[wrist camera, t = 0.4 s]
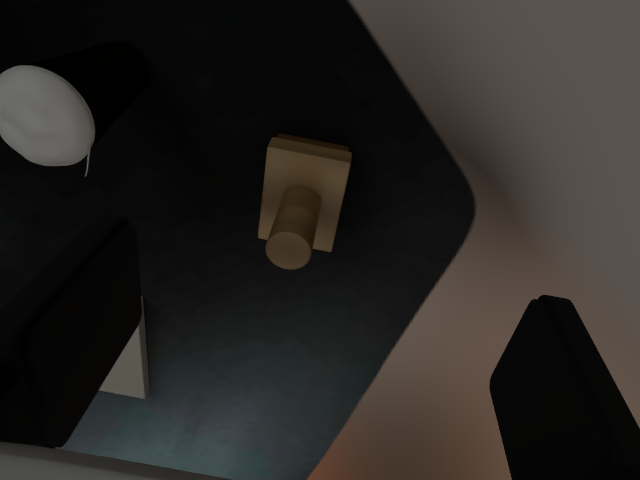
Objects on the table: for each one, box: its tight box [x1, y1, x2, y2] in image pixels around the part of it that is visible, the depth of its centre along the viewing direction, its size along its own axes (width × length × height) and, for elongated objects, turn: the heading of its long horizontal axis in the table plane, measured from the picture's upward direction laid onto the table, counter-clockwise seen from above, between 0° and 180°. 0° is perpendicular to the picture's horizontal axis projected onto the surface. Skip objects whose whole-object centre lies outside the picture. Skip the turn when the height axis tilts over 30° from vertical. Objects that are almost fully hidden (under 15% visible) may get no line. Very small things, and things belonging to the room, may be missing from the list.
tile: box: [99, 296, 150, 399], centre depth 41 cm, size 12×8×1 cm, turn 171°
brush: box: [258, 133, 352, 269], centre depth 27 cm, size 6×5×8 cm
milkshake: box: [0, 42, 149, 177], centre depth 24 cm, size 4×5×10 cm
